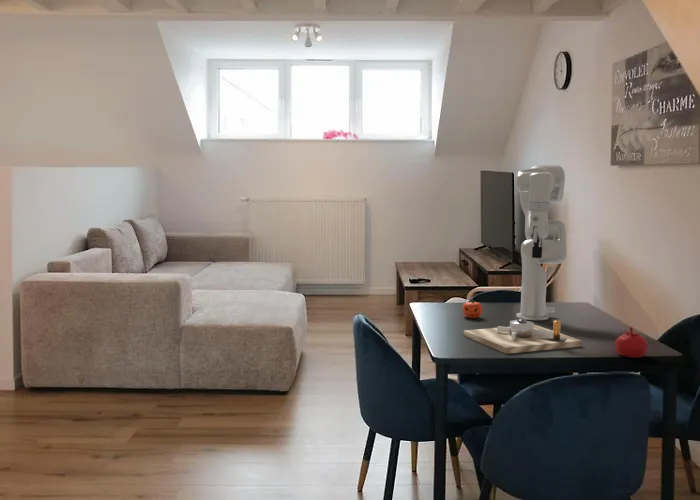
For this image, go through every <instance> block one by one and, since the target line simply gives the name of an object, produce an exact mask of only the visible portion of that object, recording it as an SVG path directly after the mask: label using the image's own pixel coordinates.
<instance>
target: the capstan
mask: <svg viewBox="0 0 700 500" xmlns="http://www.w3.org/2000/svg"><path fill="white" fill-rule="evenodd" d="M552 323H553V326H552V331H553V332H552V331H544V330H536V329H534V325H535V322H534V321H532V320H526V319H520V318H517V319H515V320H510V321H509V326H503V325H502V326H501V325H497V327H496V328H497V331H500V332H507V333H510V334H511V338H512V339H516V338H518V337H520V336H521V337H528V336H536V337H544V338H551V339H560V333H561V332H562V331H561V327H562V326H561V325H562V321H561V320H556V319H555V320H553V322H552Z"/></svg>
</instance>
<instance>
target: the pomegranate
mask: <svg viewBox="0 0 700 500" xmlns="http://www.w3.org/2000/svg"><path fill="white" fill-rule="evenodd" d="M633 330H634V328H633V327H632V326H630V327H629V330H625V329H624V332H620V333H619V334H620V335H619V336H618V337H617V338H616V339H615V341H614V350H615V352H616V354H617V355H619V356H622V357H626V358H631V359H636V358H638V359H639V358H643V357H644V356H646V354H647V353H648V348H649V343H648V342H647V340H646V339H645V337H644V336H642V335H640V333H639V332H637V331H636V330H635V331H633ZM621 334H622V335H621ZM641 334H643V335H644V333H642V332H641Z"/></svg>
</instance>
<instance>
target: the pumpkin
mask: <svg viewBox="0 0 700 500" xmlns="http://www.w3.org/2000/svg"><path fill="white" fill-rule="evenodd" d="M483 309H484V308H483V305H482V304H481V303H480V302H476V301H474V300H473V299H472V300H471V301H466V302H465V303H464V304H463V305H462V313H463V315H464V316H465V317H466V318H468V319H477V318H480V317H481V315H482V313H483Z"/></svg>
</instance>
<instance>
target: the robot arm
mask: <svg viewBox="0 0 700 500" xmlns="http://www.w3.org/2000/svg"><path fill="white" fill-rule="evenodd" d="M565 180H566V174H565V170H564V168H563V167H562V166H560V165H556V164H555V165H550V164H549V165H548V164H547V165H540V164H539V165H533V166H532V167H530V168H528V169H522V170H519V171H518V172H517V174H516V175H515V189H516V190H517V192H519V202H520V206H521V210H522V212H523V214H524V217H525V218H524V221H525V222H524V235H525V236H524V237H525V239H526V240H524V241H523V242H522V243H521V245H520V256H521V289H520V290H521V291H520V311H519V312H517V313H516V318H517V319H526V321H547V320H548V319H550V316H549V313H555V312H556V308H555V307H548V306H546V299H547V297H546V296H547V277H548V276H547V272H546V271H545V269H544V268H543V267H542V266H541V264H542V265H543V264H548V265H549V264H550V265H560V264H563V263H565V261H566V259H567V253H568V252H567V251H568V250H567V230H566V226H565V224H564V222H563V221H560V220H556V219H555V220H554V219H549V215H548V212H549V213H550V210H551V204H557V203H560V202H561V201H562V200H563V198H564V190H565V183H566V181H565Z"/></svg>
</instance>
